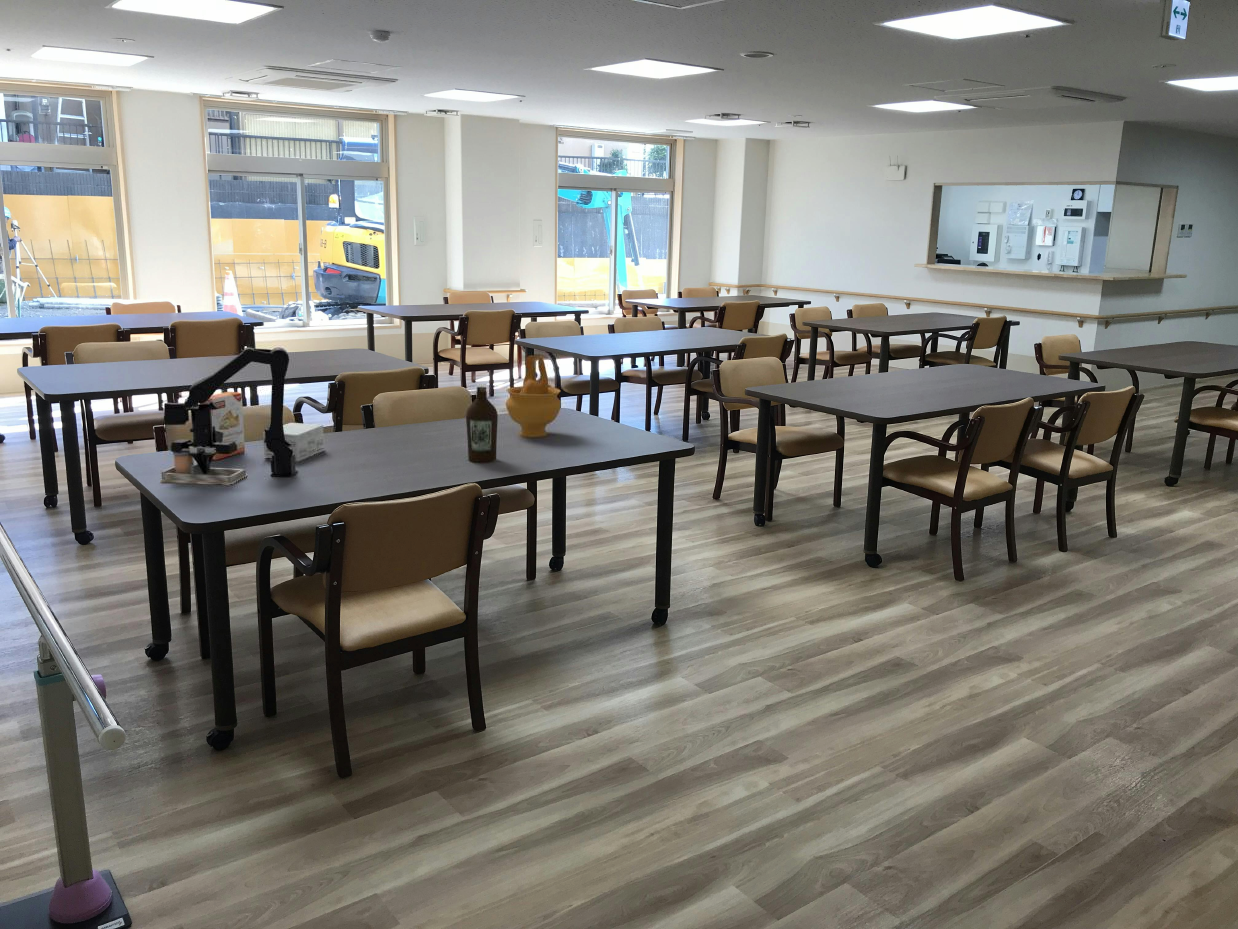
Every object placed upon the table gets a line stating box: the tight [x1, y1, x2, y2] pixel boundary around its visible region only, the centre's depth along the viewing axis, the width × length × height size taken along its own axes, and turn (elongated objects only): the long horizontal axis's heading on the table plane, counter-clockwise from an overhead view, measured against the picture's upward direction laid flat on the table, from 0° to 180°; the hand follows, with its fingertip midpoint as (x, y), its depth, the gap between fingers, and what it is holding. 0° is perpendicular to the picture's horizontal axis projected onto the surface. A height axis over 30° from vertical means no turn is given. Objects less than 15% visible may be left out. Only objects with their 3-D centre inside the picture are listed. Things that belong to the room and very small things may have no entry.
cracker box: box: [202, 391, 246, 461], centre depth 329 cm, size 14×6×21 cm, turn 160°
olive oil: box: [465, 386, 499, 464], centre depth 331 cm, size 11×11×25 cm
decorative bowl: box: [505, 355, 562, 438], centre depth 373 cm, size 21×21×30 cm
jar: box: [172, 449, 195, 474], centre depth 301 cm, size 6×6×8 cm
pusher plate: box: [190, 462, 204, 475], centre depth 301 cm, size 1×7×4 cm, turn 174°
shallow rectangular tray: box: [160, 465, 248, 486], centre depth 301 cm, size 22×11×3 cm, turn 84°
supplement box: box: [262, 422, 325, 462], centre depth 335 cm, size 17×13×9 cm
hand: (205, 474), depth 301 cm, fingers closed
